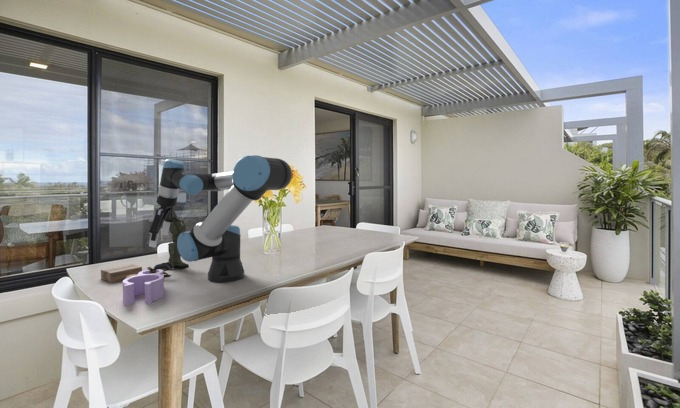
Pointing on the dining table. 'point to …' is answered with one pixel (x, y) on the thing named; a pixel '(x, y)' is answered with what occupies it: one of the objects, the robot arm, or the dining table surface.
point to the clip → (143, 286)
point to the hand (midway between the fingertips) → (158, 240)
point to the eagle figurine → (161, 266)
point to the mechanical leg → (176, 230)
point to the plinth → (119, 272)
